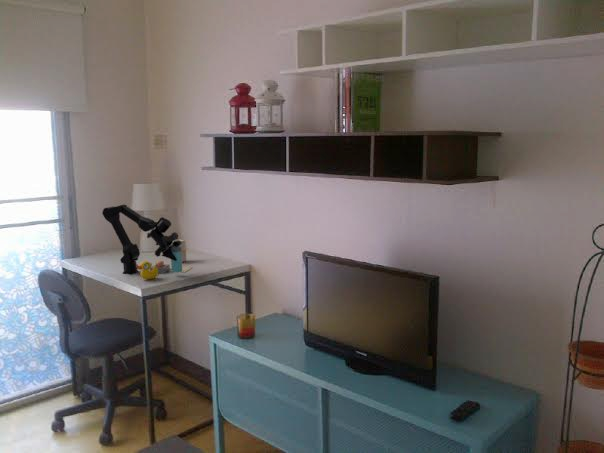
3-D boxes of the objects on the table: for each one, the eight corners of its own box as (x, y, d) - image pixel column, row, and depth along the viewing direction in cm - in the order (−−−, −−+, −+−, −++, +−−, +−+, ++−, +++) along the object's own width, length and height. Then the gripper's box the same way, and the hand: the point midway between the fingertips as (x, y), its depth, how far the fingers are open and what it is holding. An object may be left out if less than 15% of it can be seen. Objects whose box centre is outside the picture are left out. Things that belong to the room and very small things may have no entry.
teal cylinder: (171, 271, 298) (170, 248, 296) (175, 270, 302) (174, 246, 300) (178, 272, 297) (176, 248, 295) (182, 270, 301) (181, 247, 298)
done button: (154, 268, 309) (154, 262, 309) (158, 266, 313) (157, 260, 313) (162, 268, 308) (161, 262, 308) (165, 266, 313) (164, 260, 312)
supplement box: (181, 260, 337) (180, 239, 335) (186, 261, 334) (185, 240, 332) (170, 263, 330) (169, 241, 328) (176, 264, 327) (175, 242, 325)
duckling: (139, 282, 289) (137, 263, 287) (135, 280, 293) (134, 261, 292) (160, 278, 295) (158, 260, 293) (156, 276, 299) (155, 258, 298)
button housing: (150, 272, 308) (150, 267, 308) (156, 269, 316) (156, 264, 315) (163, 273, 307) (163, 267, 306) (169, 269, 314) (169, 264, 314)
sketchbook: (167, 271, 309) (166, 271, 309) (174, 267, 319) (174, 266, 319) (185, 272, 307) (185, 271, 307) (192, 267, 317) (192, 267, 317)
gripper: (158, 231, 288) (177, 253, 286) (177, 225, 305) (196, 246, 304) (146, 245, 292) (165, 267, 290) (166, 238, 309) (184, 259, 308)
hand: (178, 259), depth 298 cm, fingers closed on teal cylinder, 4 cm apart
